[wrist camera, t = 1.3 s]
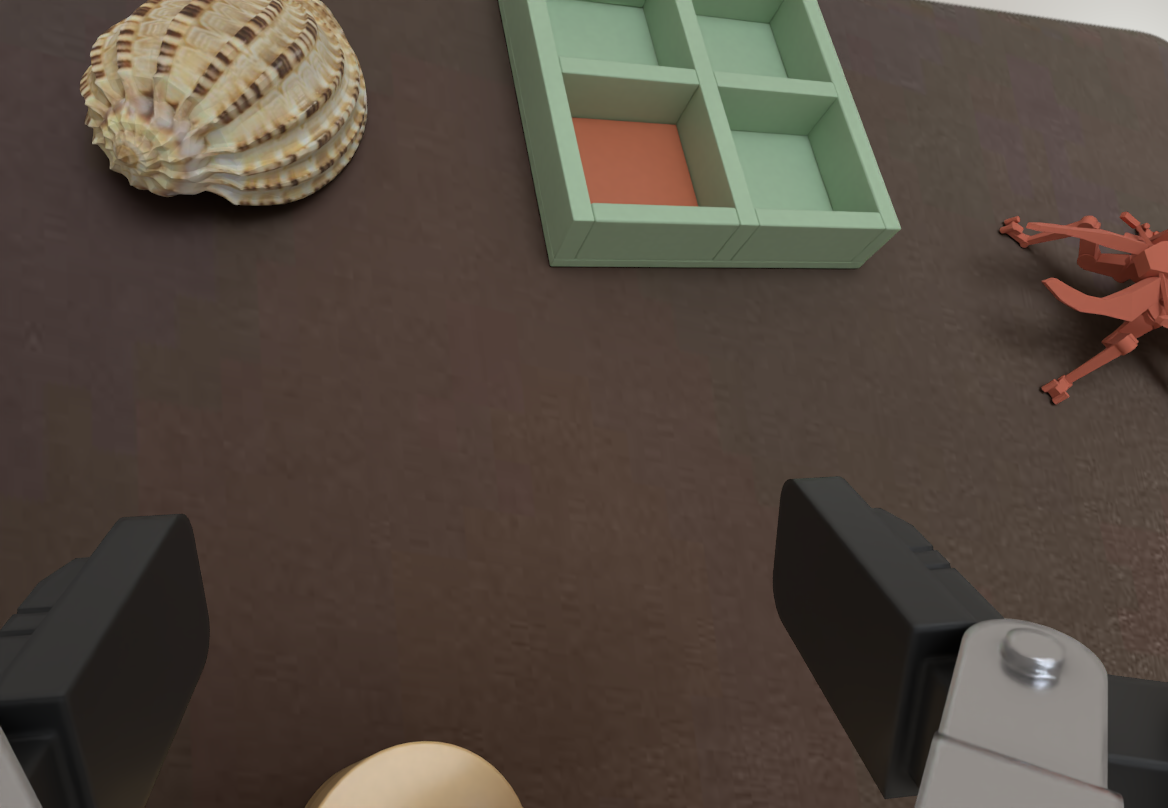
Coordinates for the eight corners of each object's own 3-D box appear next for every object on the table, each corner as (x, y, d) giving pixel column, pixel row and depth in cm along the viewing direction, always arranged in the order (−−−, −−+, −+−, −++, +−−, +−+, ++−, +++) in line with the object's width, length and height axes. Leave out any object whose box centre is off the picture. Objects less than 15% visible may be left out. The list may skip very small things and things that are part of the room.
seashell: (173, 83, 34) (40, 193, 26) (184, -81, 30) (35, -11, 22) (369, 151, 35) (300, 274, 27) (402, 3, 32) (334, 96, 24)
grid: (549, 267, 32) (573, 220, 30) (494, -14, 37) (511, -75, 35) (858, 269, 37) (902, 229, 35) (773, 21, 42) (806, -30, 39)
